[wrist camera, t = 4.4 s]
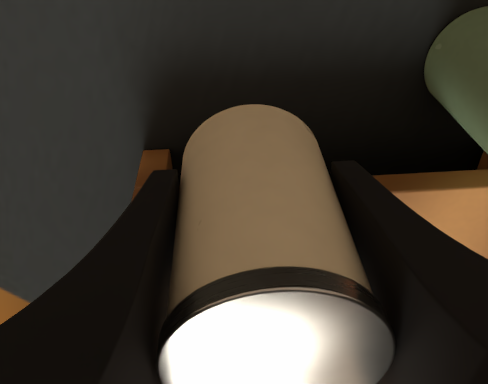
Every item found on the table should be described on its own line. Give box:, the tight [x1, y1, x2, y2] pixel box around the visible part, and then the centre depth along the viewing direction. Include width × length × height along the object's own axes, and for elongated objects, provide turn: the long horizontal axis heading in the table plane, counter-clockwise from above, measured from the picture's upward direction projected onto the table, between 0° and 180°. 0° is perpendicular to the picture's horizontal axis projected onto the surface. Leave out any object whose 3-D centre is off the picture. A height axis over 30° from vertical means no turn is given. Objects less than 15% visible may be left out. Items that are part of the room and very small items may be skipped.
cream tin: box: [156, 104, 395, 384], centre depth 10 cm, size 4×4×6 cm
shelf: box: [131, 149, 488, 259], centre depth 20 cm, size 17×9×5 cm, turn 91°
